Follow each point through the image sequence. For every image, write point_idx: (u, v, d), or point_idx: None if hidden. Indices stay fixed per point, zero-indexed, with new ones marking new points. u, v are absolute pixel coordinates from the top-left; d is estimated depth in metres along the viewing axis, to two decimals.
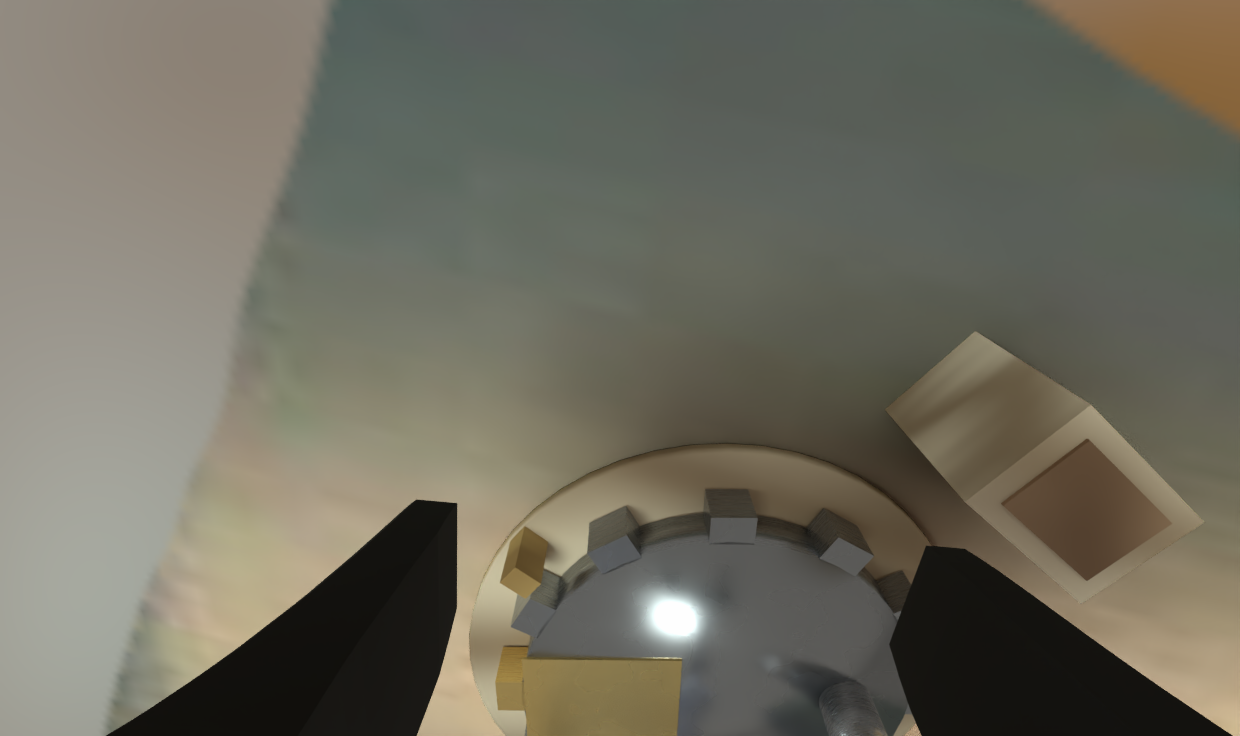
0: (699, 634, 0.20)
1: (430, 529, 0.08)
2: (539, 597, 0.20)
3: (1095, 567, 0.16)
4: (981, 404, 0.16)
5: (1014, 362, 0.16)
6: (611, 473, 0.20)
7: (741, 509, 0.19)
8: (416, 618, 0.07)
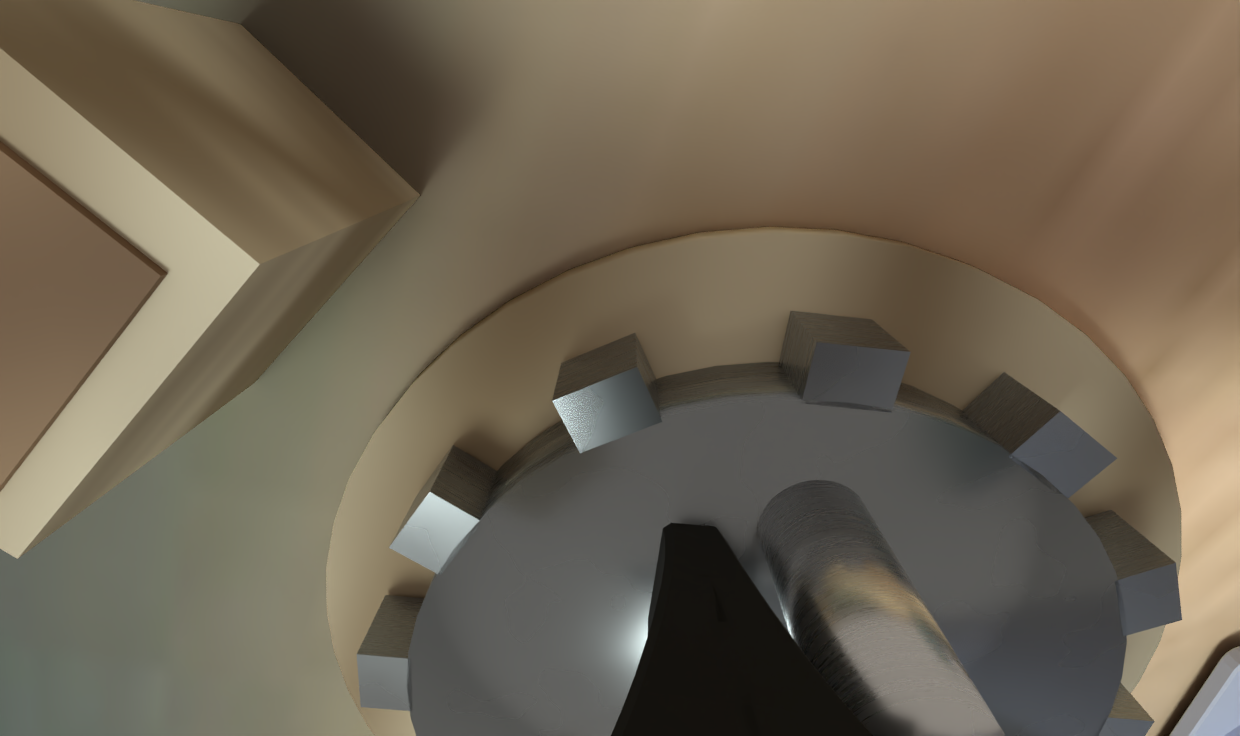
0: (602, 728, 0.12)
1: (714, 554, 0.08)
2: None
3: (107, 262, 0.06)
4: None
5: None
6: (374, 733, 0.15)
7: None
8: None
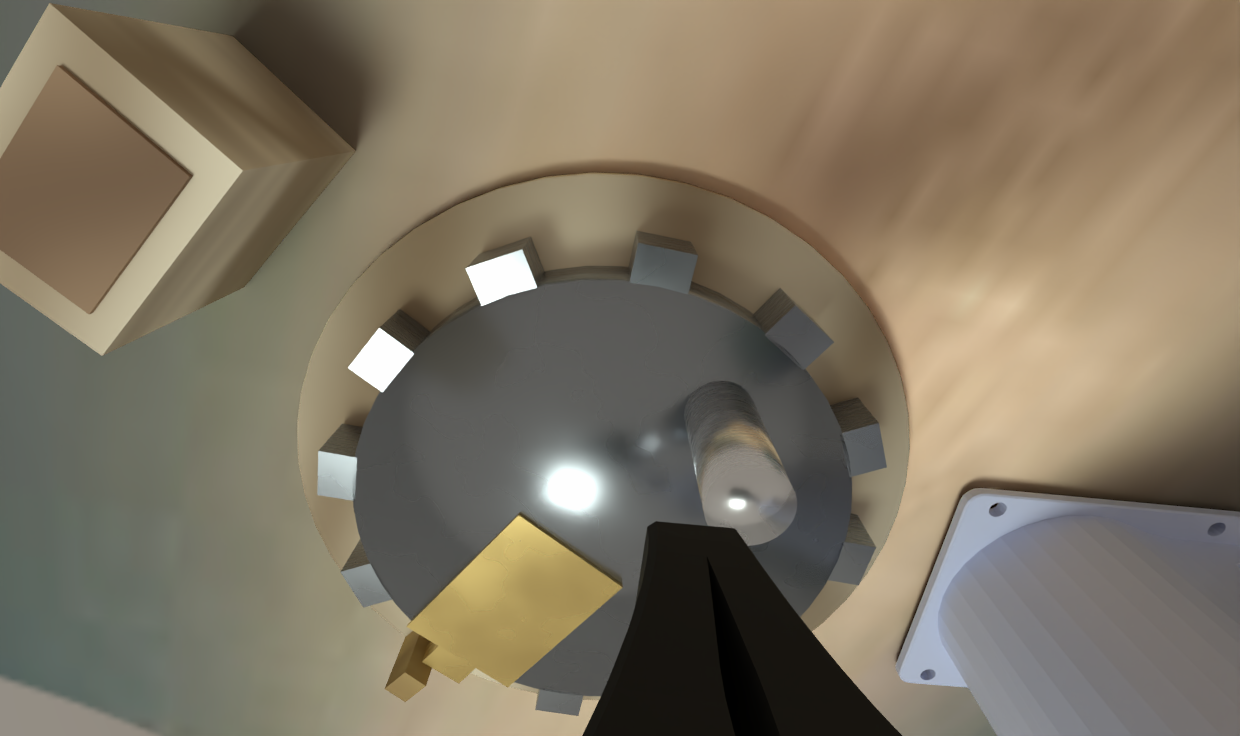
0: (500, 478, 0.16)
1: (696, 552, 0.08)
2: (353, 563, 0.18)
3: (161, 169, 0.11)
4: None
5: None
6: (336, 563, 0.19)
7: None
8: None
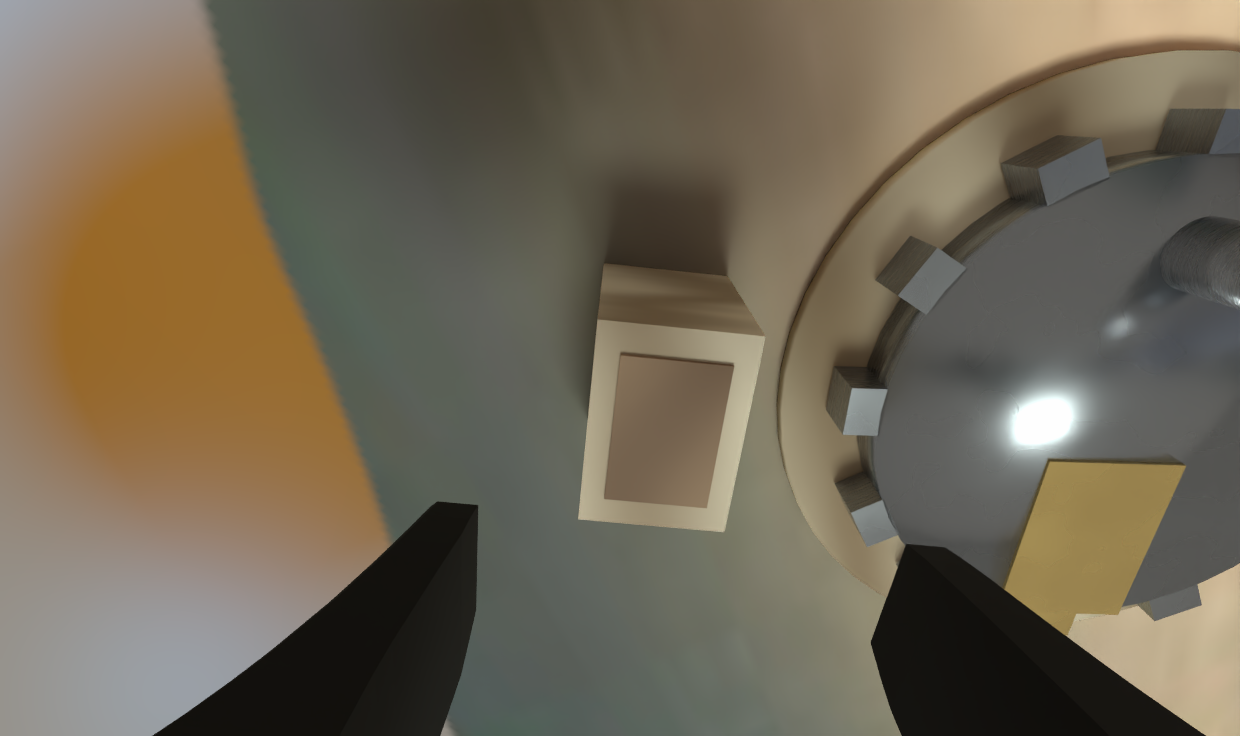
0: (1014, 441, 0.17)
1: (453, 531, 0.08)
2: None
3: (713, 375, 0.13)
4: None
5: None
6: (885, 595, 0.21)
7: (843, 395, 0.17)
8: (441, 620, 0.07)
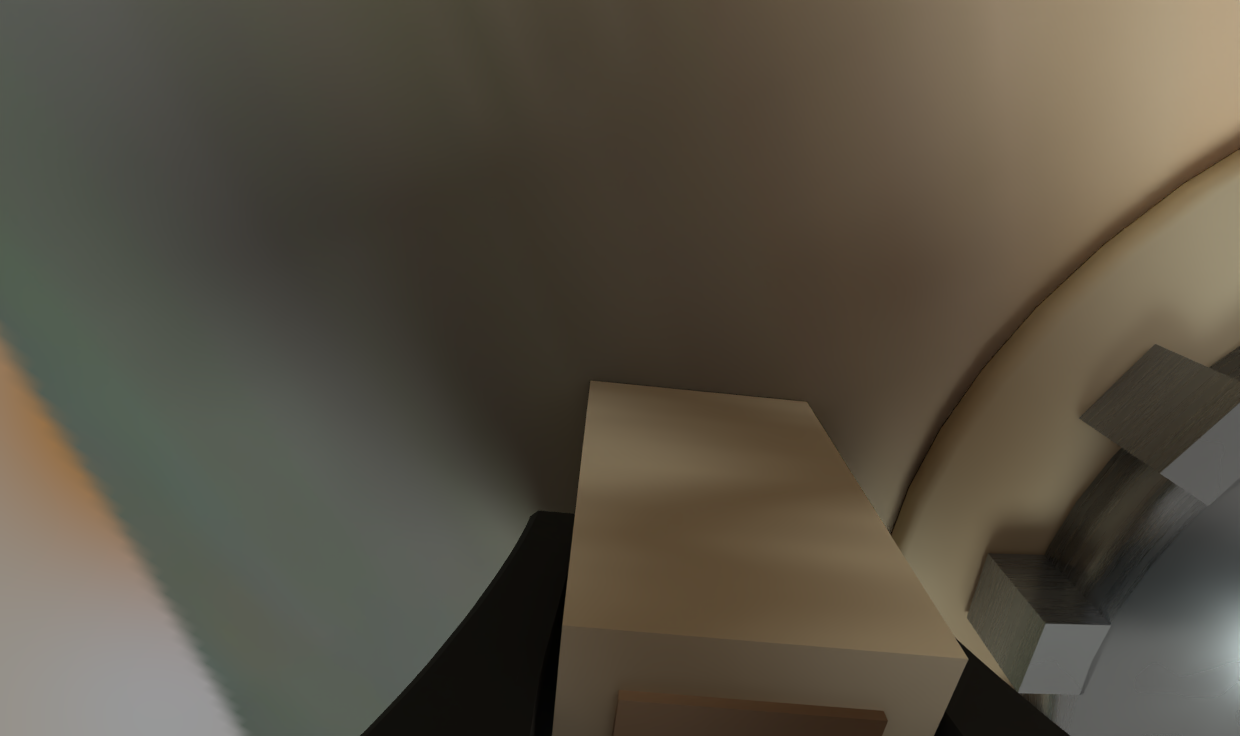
0: None
1: (566, 541, 0.08)
2: None
3: None
4: None
5: None
6: None
7: (1019, 622, 0.09)
8: (561, 630, 0.08)
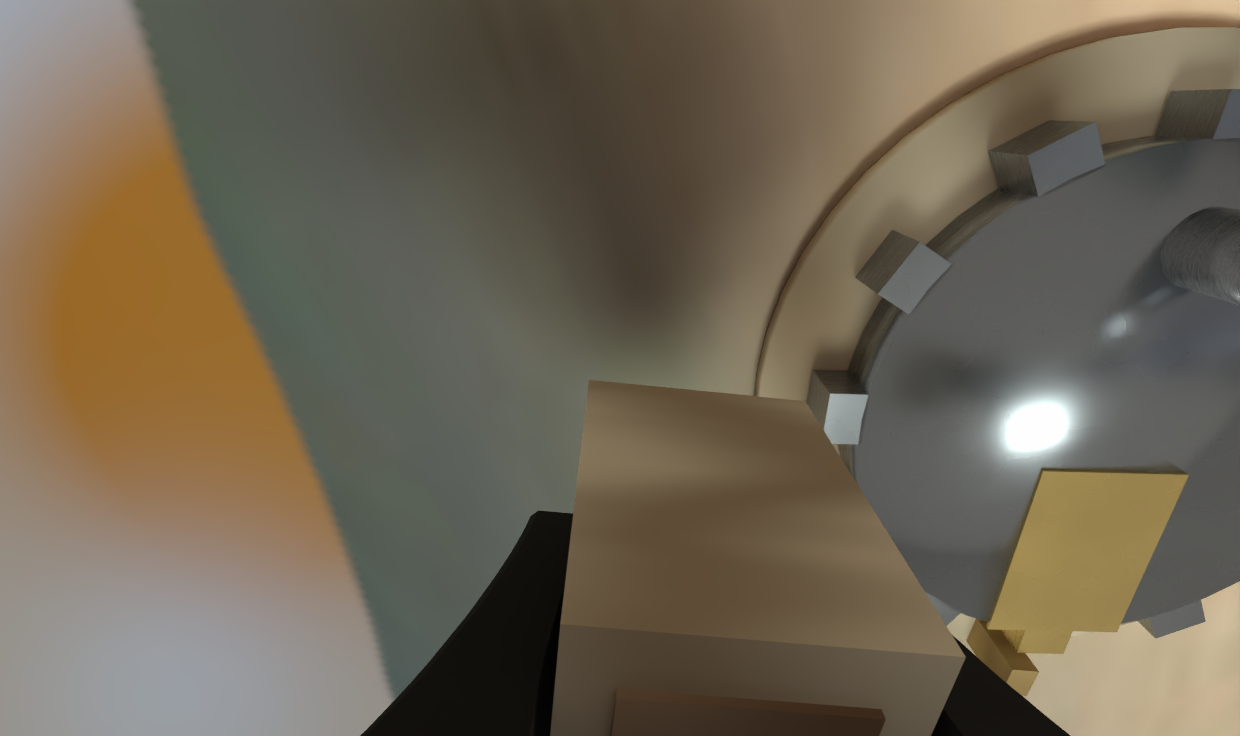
0: (1005, 449, 0.16)
1: (566, 541, 0.08)
2: None
3: (835, 734, 0.06)
4: None
5: None
6: None
7: (822, 401, 0.16)
8: None
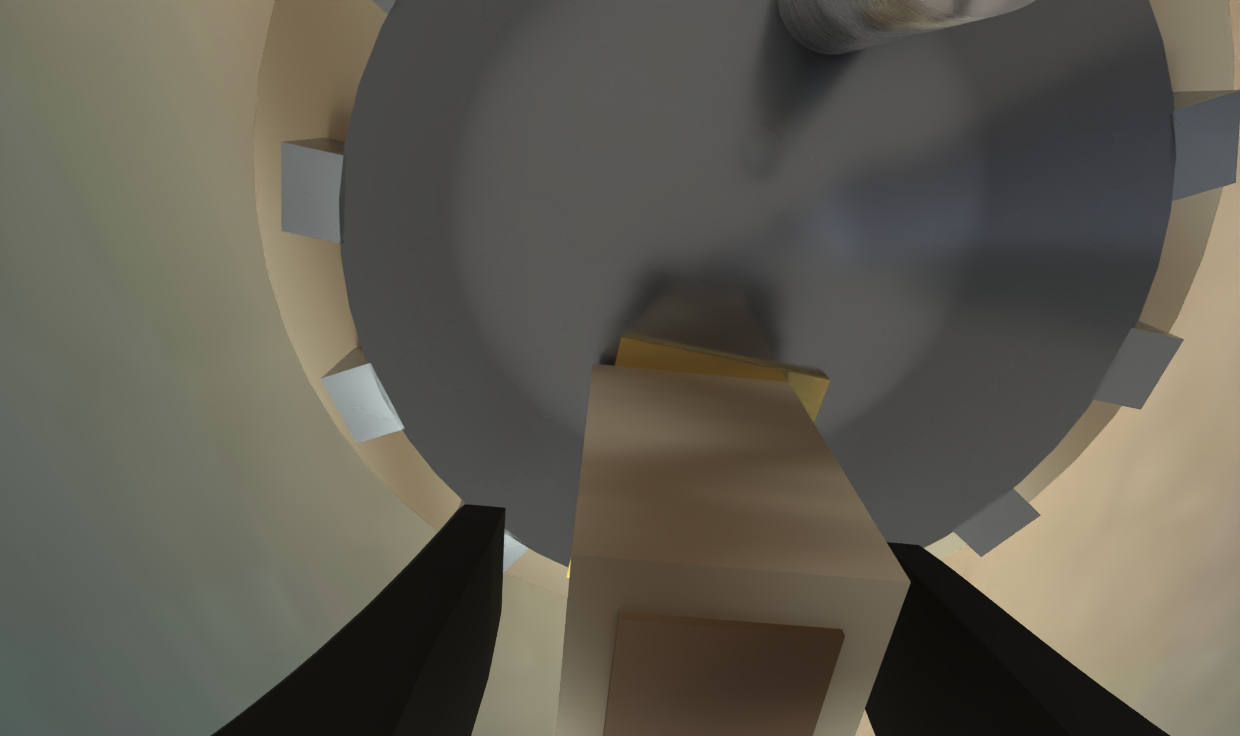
0: (566, 293, 0.10)
1: (484, 534, 0.08)
2: None
3: (802, 650, 0.07)
4: None
5: None
6: None
7: None
8: (474, 623, 0.08)
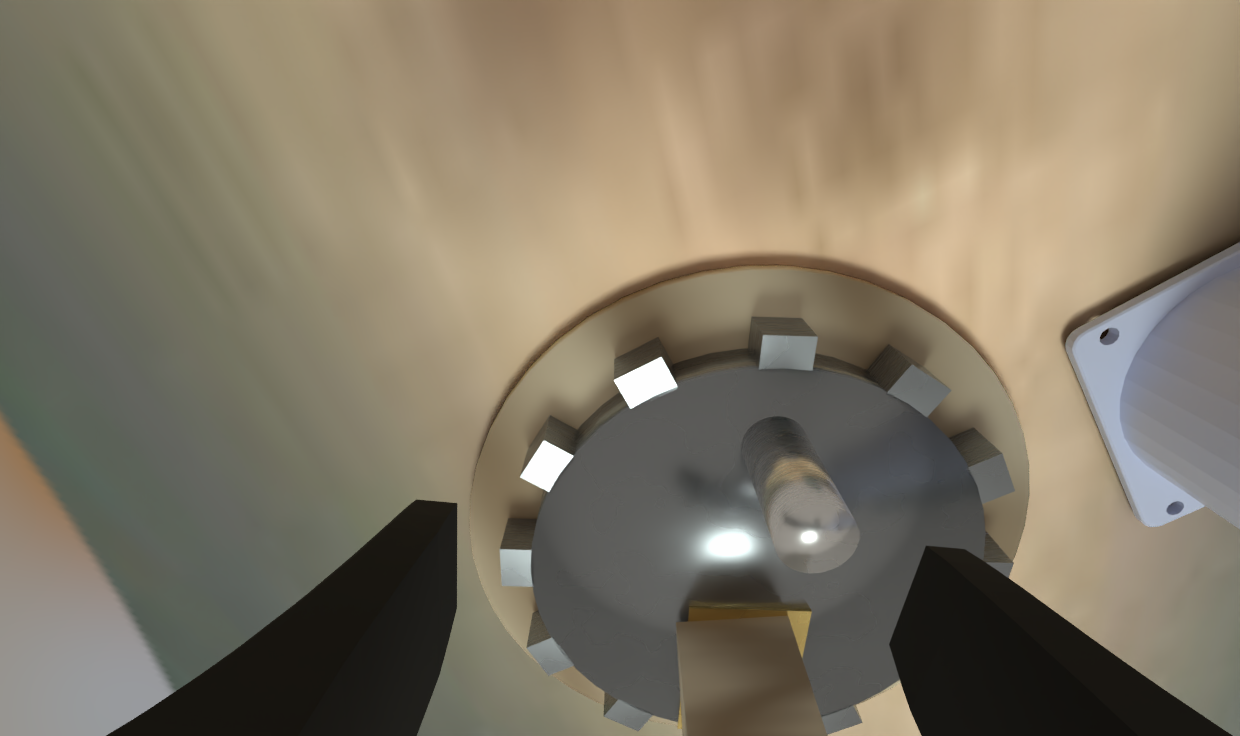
0: (655, 591, 0.19)
1: (430, 529, 0.08)
2: (608, 705, 0.21)
3: None
4: None
5: None
6: (603, 704, 0.23)
7: None
8: (416, 618, 0.07)
